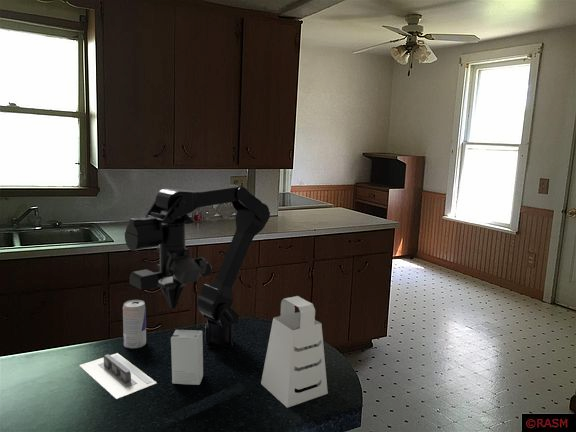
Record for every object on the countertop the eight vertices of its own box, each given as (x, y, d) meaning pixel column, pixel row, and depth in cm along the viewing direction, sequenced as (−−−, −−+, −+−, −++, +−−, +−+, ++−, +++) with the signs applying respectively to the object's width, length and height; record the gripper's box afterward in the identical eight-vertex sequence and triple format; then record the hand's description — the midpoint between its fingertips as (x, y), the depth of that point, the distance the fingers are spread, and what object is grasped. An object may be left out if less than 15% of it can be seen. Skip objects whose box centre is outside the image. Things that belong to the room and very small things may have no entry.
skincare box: (203, 380, 103) (204, 329, 101) (199, 391, 98) (200, 338, 96) (175, 379, 103) (175, 328, 101) (170, 390, 98) (170, 336, 96)
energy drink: (148, 344, 119) (148, 299, 117) (142, 354, 114) (142, 307, 111) (127, 343, 119) (126, 299, 117) (120, 353, 113) (119, 307, 111)
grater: (299, 371, 108) (303, 290, 105) (327, 393, 100) (333, 305, 96) (260, 383, 102) (263, 297, 99) (287, 407, 94) (291, 314, 90)
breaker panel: (117, 358, 111) (117, 352, 110) (157, 389, 99) (157, 382, 98) (79, 371, 104) (79, 364, 104) (116, 405, 92) (116, 398, 92)
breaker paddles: (109, 363, 105) (108, 353, 105) (130, 381, 98) (130, 370, 98) (103, 365, 104) (103, 355, 104) (125, 383, 97) (125, 372, 97)
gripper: (154, 257, 94) (154, 330, 97) (226, 245, 108) (225, 308, 110) (127, 247, 102) (129, 314, 105) (198, 236, 115) (198, 296, 118)
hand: (172, 308), depth 109 cm, fingers closed
